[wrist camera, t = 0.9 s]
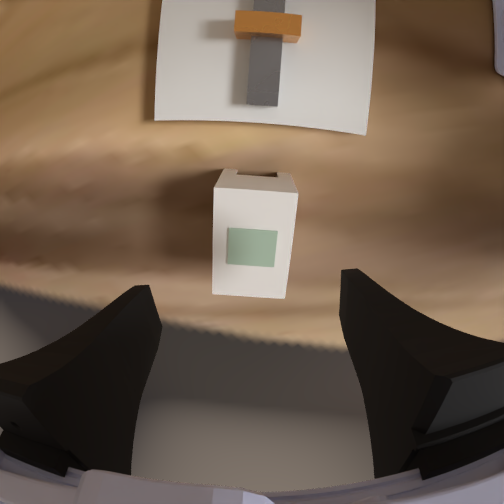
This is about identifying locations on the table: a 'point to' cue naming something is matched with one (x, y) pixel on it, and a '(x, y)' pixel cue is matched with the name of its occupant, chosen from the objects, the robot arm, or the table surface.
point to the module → (253, 234)
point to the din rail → (266, 46)
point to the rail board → (291, 74)
